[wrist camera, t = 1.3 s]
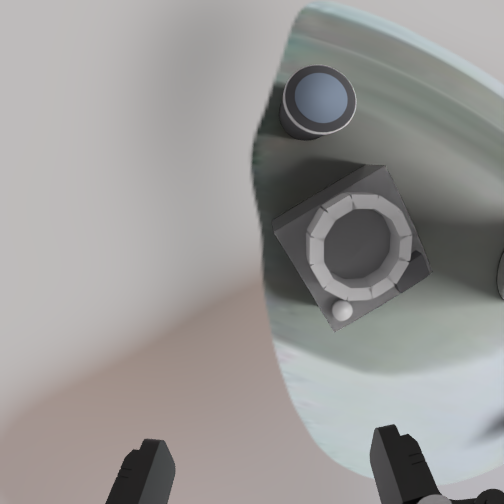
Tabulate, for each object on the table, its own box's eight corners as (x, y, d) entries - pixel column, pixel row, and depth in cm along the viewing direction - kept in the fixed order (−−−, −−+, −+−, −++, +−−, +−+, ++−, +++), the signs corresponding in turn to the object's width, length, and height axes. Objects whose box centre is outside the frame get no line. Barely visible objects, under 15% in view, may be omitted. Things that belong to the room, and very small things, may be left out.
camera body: (365, 164, 27) (395, 165, 20) (409, 255, 29) (443, 279, 22) (271, 220, 29) (274, 238, 22) (324, 307, 31) (339, 344, 24)
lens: (313, 80, 25) (331, 51, 17) (341, 125, 26) (371, 112, 18) (267, 106, 26) (269, 84, 18) (296, 151, 27) (310, 147, 19)
